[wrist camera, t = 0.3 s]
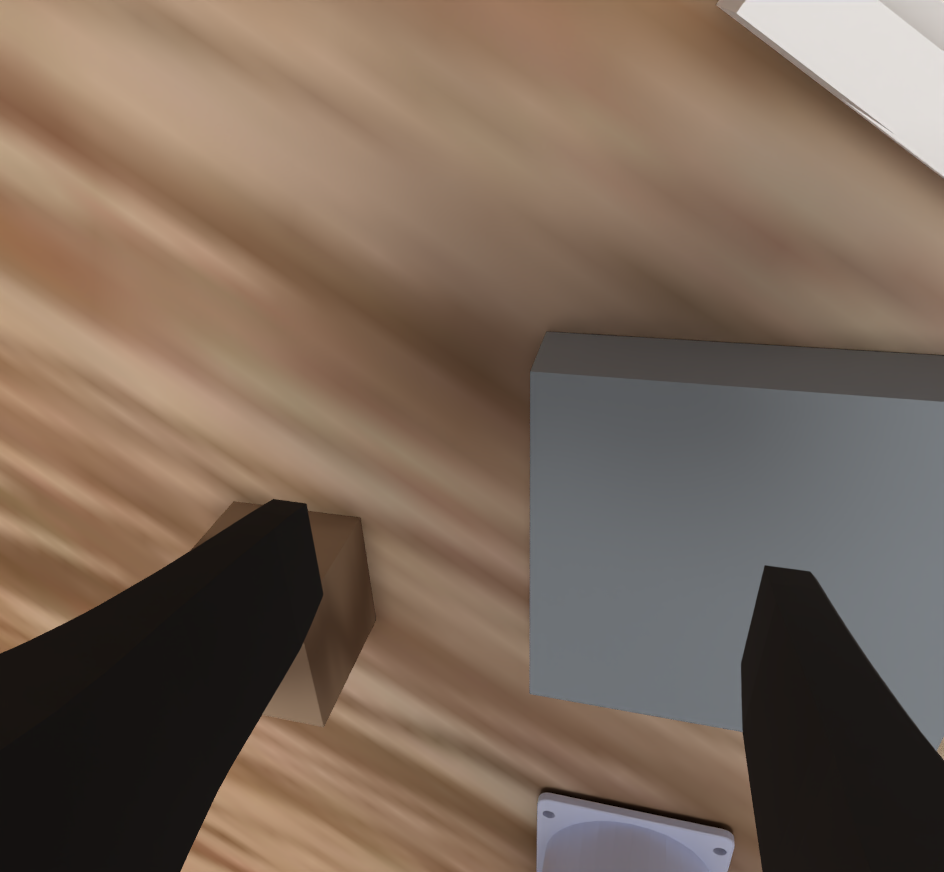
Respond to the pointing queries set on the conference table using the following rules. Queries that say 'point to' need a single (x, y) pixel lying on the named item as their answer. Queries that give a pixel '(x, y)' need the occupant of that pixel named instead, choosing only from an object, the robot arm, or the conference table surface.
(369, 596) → the walnut cube
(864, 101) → the bracket
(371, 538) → the conference table surface
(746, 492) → the base slab
